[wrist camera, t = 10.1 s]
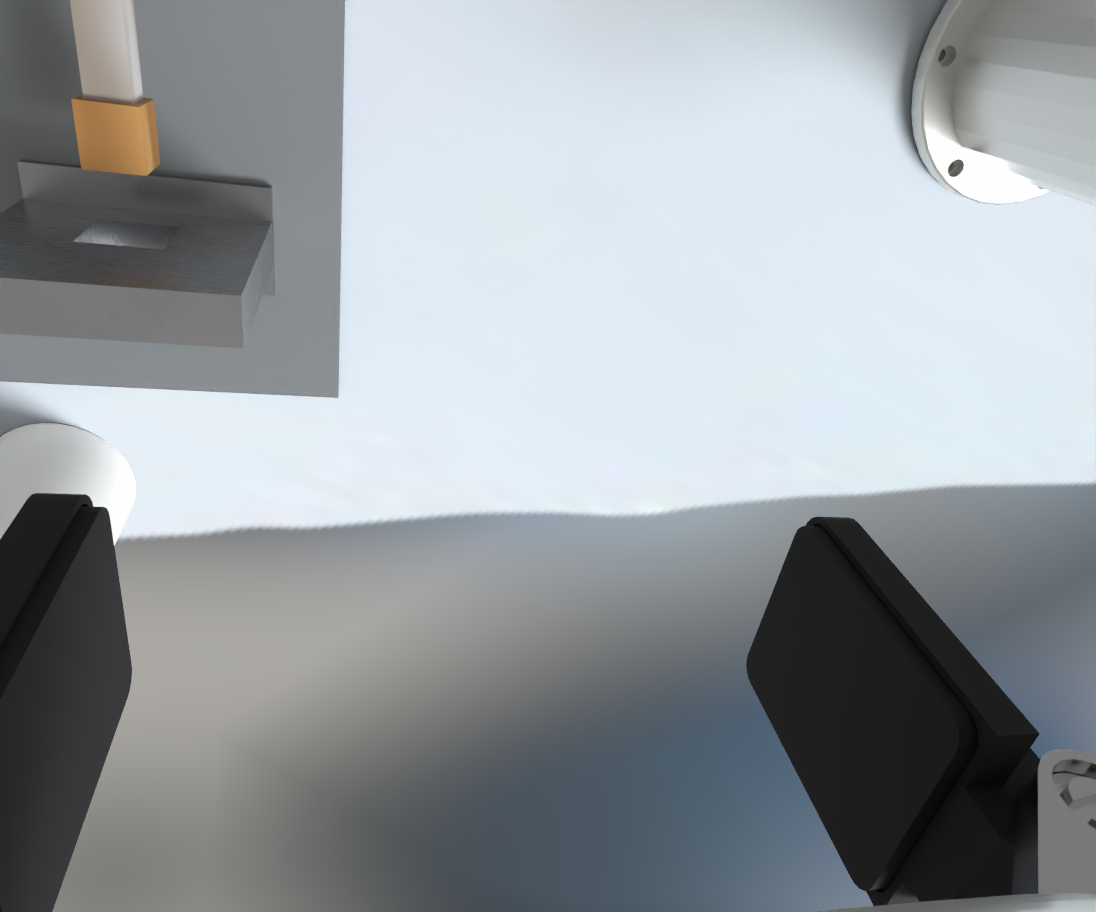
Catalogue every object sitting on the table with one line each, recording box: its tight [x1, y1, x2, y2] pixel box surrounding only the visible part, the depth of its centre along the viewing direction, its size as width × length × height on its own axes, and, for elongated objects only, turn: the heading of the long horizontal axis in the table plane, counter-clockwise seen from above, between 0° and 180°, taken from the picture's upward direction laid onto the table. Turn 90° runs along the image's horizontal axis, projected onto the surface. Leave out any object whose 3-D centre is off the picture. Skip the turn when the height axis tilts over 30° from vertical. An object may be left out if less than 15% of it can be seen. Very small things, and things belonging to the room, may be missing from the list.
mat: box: [0, 0, 345, 398], centre depth 31 cm, size 16×32×1 cm, turn 171°
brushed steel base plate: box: [0, 159, 275, 348], centre depth 31 cm, size 10×5×10 cm, turn 81°
